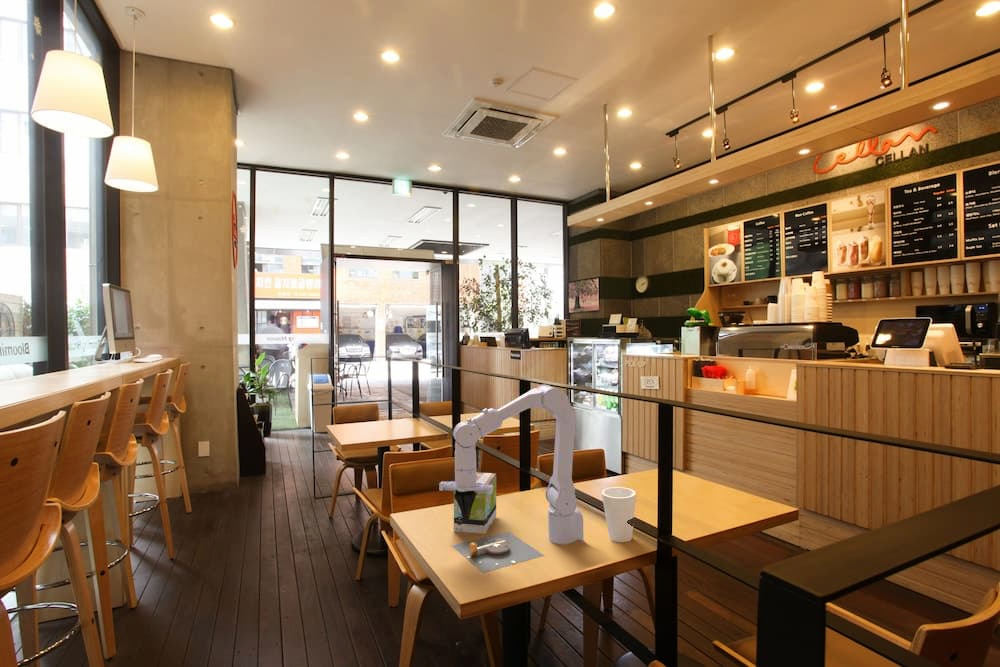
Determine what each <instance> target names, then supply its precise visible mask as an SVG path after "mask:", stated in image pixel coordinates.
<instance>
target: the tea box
mask: <svg viewBox="0 0 1000 667" xmlns="http://www.w3.org/2000/svg"><path fill="white" fill-rule="evenodd" d="M476 481H477V482H478V483H482V484H487V485H493V493H492V494H491V495H490V494H487V493H477V495H476V497H475V499H474V502H473V505H472V508H471V513H470V518H469V519H468V520H463V518H462V514H461V510H460V507H459V505H458V503H457V501H456V499H455V498H454V497H453V532H456V533H471V534H484V535H485V534H486V533H487V531H488V530H489V528H490V527H491V525H492V523H493V521H494V520H495V519H496V518H497V473H495V472H494V473H492V472H477V471H476ZM455 492H456V491H453V495H454V494H455Z"/></svg>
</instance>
